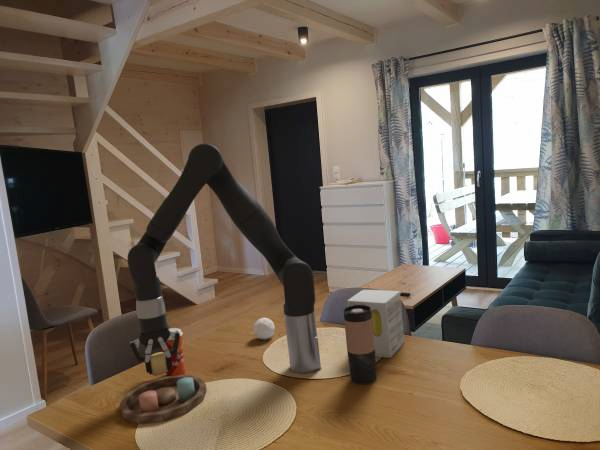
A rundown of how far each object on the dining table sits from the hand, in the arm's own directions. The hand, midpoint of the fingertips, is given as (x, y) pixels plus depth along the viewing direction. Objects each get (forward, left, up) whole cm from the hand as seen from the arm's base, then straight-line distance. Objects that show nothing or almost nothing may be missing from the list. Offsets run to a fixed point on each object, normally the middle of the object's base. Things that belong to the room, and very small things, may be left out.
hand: (159, 371), depth 128 cm
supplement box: (-65, -16, -7) cm, 68 cm away
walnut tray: (-2, +6, -7) cm, 9 cm away
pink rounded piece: (0, +12, -6) cm, 13 cm away
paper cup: (0, -13, -7) cm, 15 cm away
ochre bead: (0, 0, 0) cm, 0 cm away
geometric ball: (-27, -36, -7) cm, 46 cm away
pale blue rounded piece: (-8, +6, -6) cm, 12 cm away
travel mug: (-57, +4, -7) cm, 58 cm away
